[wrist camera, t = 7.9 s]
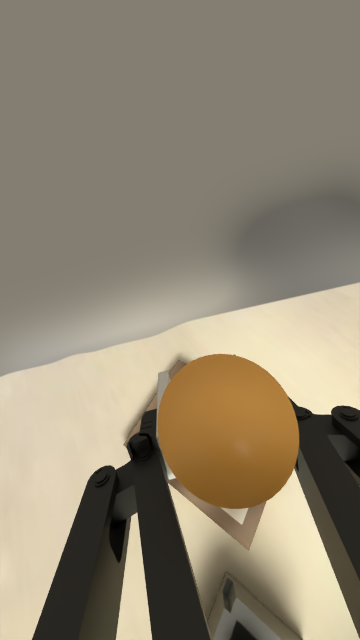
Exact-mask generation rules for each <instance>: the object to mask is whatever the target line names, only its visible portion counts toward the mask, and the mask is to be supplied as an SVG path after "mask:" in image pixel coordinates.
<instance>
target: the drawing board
mask: <svg viewBox="0 0 360 640" xmlns="http://www.w3.org/2000/svg"><path fill="white" fill-rule="evenodd" d="M185 365H186V364H185V363H183V362H181V361H180V360H179V361H178V362H177V364H176V365H175V367H174V368H173V370H172V371H171V373H170V374H169V377H170V381H171V379H172V378H173V376H174V375H175V374H176V373H177V372H178V371H179V370H180V369H181V368H183V367H184V366H185ZM157 399H158V393H157V394H156V396H155V397H154V399H153V400H152V402H151V403H150V405H149V406H148V408H147V409H146V411H149V410H153V409H157ZM144 413H145V412H144ZM142 416H143V415H142ZM141 418H142V417H141ZM141 418H140V420H139V422H138V423H137V425H136V426H135V428H134V429H133V431H132V432H131V434H130V435H129V437H128V438H127V440H126V441H125V443H124V444H123V445H124V446H125V447H126V448H127V443H128V441H129V439H130V438H131V437H132V436H133V435H134V434H136V433H138V432H140V425H141ZM167 482H168V483H169V484H170V485H171V486H173V487H174V488H175V489H176V490H177V491H179V492H180V493H181V494H182V495H183V496H185V497H186V498H187V499H188V500H189V501H190V502H192V503H193V504H194V505H195V506H196V507H198V508H199V509H200V510H201V511H202V512H203V513H205V514H206V515H207V516H208V517H209V518H211V519H212V520H213V521H214V522H215V523H217V524H218V525H219V526H220V527H221V528H222V529H224V530H225V531H226V532H227V533H228V534H230V535H231V536H232V537H233V538H234V539H236V540H237V541H238V542H239V543H240V544H241V545H243V546H244V547H245V548H246V549H247V550H249V549H250V546H251V543H252V541H253V538H254V535H255V532H256V529H257V526H258V524H259V521H260V518H261V515H262V512H263V509H264V506H265V504H266V501H265V502H263V503H262V504H259V505H256V506H253V507H250V508H244V509H227V508H222V507H217V506H214V505H212V504H209V503H207V502H205V501H203V500H201V499H199V498H197V497H196V496H195V495H193V494H192V493H191V492H189V491H188V490H187V489H186V488H185V487H184V486H183V485H182V484H181V483H180V482H179V481H178V479H177V478H174V479H171V480H169V478H168V475H167Z"/></svg>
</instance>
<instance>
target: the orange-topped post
mask: <svg viewBox="0 0 360 640" xmlns="http://www.w3.org/2000/svg"><path fill="white" fill-rule="evenodd" d="M157 427H158V437H159V442H160V446H161V449H162V452H163V456H164V458H165V460H166V462H167V464H168V466H169V468H170V469H171V471H172V473H173V474H174V476H175V477H176V478H177V479H178V481H179V482H180V483H181V484H182V485H183V486H184V487H185V488H186V489H187V490H188V491H189V492H191V493H192V494H193V495H195V496H196V497H197V498H199V499H201V500H203V501H205V502H207V503H209V504H212V505H214V506H217V507H222V508H227V509H244V508H250V507H253V506H256V505H259V504H262V503H263V502H265V501H267V500H269V499H270V498H272V497H273V496H274V495H275V494H276V493H278V492H279V491H280V490H281V488H282V487H283V486H284V485H285V484H286V482H287V481H288V479H289V477H290V476H291V474H292V471H293V469H294V467H295V464H296V460H297V456H298V450H299V429H298V423H297V419H296V415H295V411H294V409H293V406H292V404H291V402H290V400H289V398H288V396H287V394H286V393H285V391H284V390H283V388H282V387H281V385H280V384H279V383H278V382H277V381H276V379H275V378H274V377H273V376H272V375H270V374H269V373H268V372H267V371H266V370H264V369H263V368H262V367H260V366H259V365H257V364H255V363H254V362H252V361H249V360H247V359H245V358H242V357H239V356H234V355H228V354H214V355H208V356H204V357H201V358H198V359H196V360H194V361H192V362H190V363H188V364H187V365H185V366H184V367H183V368H181V369H180V370H179V371H178V372H177V373H176V374H175V375H174V376H173V378H172V379H171V381H170V382H169V383H168V385H167V387H166V389H165V391H164V393H163V396H162V398H161V402H160V405H159V411H158V423H157Z"/></svg>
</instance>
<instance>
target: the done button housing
mask: <svg viewBox="0 0 360 640" xmlns="http://www.w3.org/2000/svg"><path fill="white" fill-rule="evenodd" d="M208 626H209V629H210V633H211V636H212V640H302V639H300V638H299V637H298V636H297V635H296V634H295V633H294V632H293V631H292V630H291V629H289V628H288V627H287V626H286V625H285V624H284V623H283V622H282V621H281V620H280V619H278V618H277V617H276V616H275V615H274V614H273V613H272V612H271V611H270V610H269V609H268V608H266V607H265V606H264V605H263V604H262V603H261V602H260V601H259V600H258V599H257V598H255V597H254V596H253V595H252V594H251V593H250V592H249V591H248V590H247V589H246V588H245V587H243V586H242V585H241V584H240V583H239V582H238V581H237V580H236V579H235V578H234V577H232V576H231V575H230V574H229V573H228V572H227V571H226V574H225V576H224V579H223V582H222V584H221V587H220V590H219V592H218V595H217V598H216V600H215V603H214V606H213V608H212V611H211V614H210V616H209V619H208Z"/></svg>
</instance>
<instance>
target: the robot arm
mask: <svg viewBox="0 0 360 640" xmlns="http://www.w3.org/2000/svg"><path fill="white" fill-rule="evenodd" d="M234 356H236V355H234ZM169 382H170V377H169V373H168V371H165V372H161V373H158V399H157V409H153V410H149V411H145V413H144V414H143V416H142V418H141V425H140V432H138V433H136V434H134V435H133V436H132V437H131V438H130V439H129V441H128V443H127V450H128V453H129V455H130V458H131V460H130V461H129V462H128V463H127V464H125V465H124V466H122V467H120V468H118V469H116V470H115V468H114V467H112V466H104V467H101V468H99V469H98V470H97V471H95V472H94V473H93V474H92V476H91V477H90V478H89V480H88V482H87V485H86V488H85V491H84V494H83V496H82V499H81V502H80V505H79V508H78V511H77V513H76V516H75V519H74V522H73V525H72V528H71V530H70V533H69V536H68V539H67V542H66V545H65V547H64V550H63V553H62V556H61V559H60V562H59V565H58V567H57V570H56V573H55V576H54V579H53V582H52V584H51V587H50V590H49V593H48V596H47V599H46V601H45V604H44V607H43V610H42V613H41V616H40V618H39V621H38V624H37V627H36V630H35V633H34V635H33V638H32V640H116V633H117V625H118V617H119V609H120V601H121V594H122V586H123V578H124V570H125V562H126V554H127V546H128V538H129V530H130V522H131V516H132V515H134V514H135V513H138V521H139V530H140V538H141V547H142V555H143V564H144V572H145V581H146V589H147V598H148V606H149V615H150V623H151V632H152V640H212V636H211V633H210V629H209V626H208V622H207V619H206V615H205V612H204V608H203V605H202V601H201V598H200V594H199V591H198V587H197V584H196V580H195V577H194V573H193V570H192V566H191V563H190V559H189V556H188V552H187V549H186V545H185V542H184V538H183V535H182V531H181V528H180V524H179V521H178V517H177V514H176V510H175V507H174V503H173V500H172V496H171V493H170V489H169V486H168V483H167V475H168V478H169V480H171V479H174V478H176V477H175V476H174V474H173V473H172V471H171V469H170V468H169V466H168V464H167V462H166V460H165V458H164V456H163V452H162V449H161V446H160V442H159V437H158V427H157V423H158V411H159V405H160V402H161V398H162V396H163V393H164V391H165V389H166V387H167V385H168V383H169ZM288 398H289V397H288ZM289 400H290V402H291V404H292V406H293V409H294V411H295V415H296V419H297V423H298V429H299V450H298V456H297V460H296V464H295V467H294V469H295V471H296V474H297V477H298V479H299V482H300V484H301V487H302V490H303V492H304V495H305V497H306V500H307V503H308V505H309V508H310V510H311V513H312V516H313V518H314V521H315V524H316V526H317V529H318V531H319V534H320V537H321V539H322V542H323V544H324V547H325V550H326V552H327V555H328V557H329V560H330V563H331V565H332V568H333V570H334V573H335V576H336V578H337V581H338V583H339V586H340V589H341V591H342V594H343V596H344V599H345V602H346V604H347V607H348V610H349V612H350V615H351V617H352V620H353V623H354V625H355V628H356V630H357V633H358V636H359V638H360V410H358V409H356V408H353V407H350V406H336V407H334V408H333V409H332V411H331V415H317V414H313V413H312V412H311V411H310V410H308V409H306V408H303V407H298V406H297V405H296V404H295V403H294V402H293V401H292V400H291V399H290V398H289Z"/></svg>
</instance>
